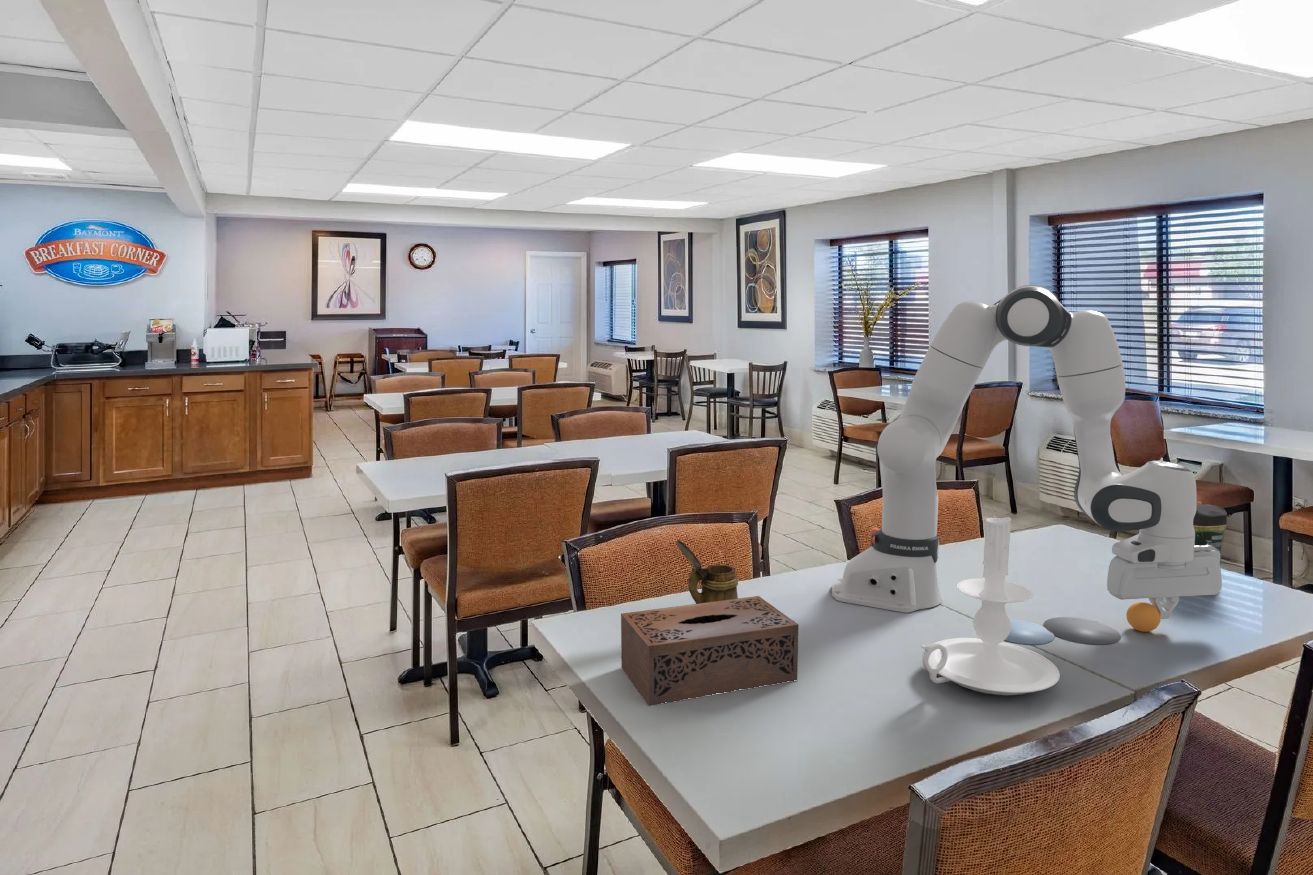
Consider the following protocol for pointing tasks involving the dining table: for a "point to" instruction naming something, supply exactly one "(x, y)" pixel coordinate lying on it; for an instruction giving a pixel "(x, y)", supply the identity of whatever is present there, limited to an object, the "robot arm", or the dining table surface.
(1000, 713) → the dining table surface
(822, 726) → the dining table surface
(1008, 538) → the candlestick
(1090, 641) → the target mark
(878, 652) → the dining table surface
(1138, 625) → the ball
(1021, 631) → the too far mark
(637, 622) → the tissue box cover
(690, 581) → the wooden mug
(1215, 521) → the coffee jar
